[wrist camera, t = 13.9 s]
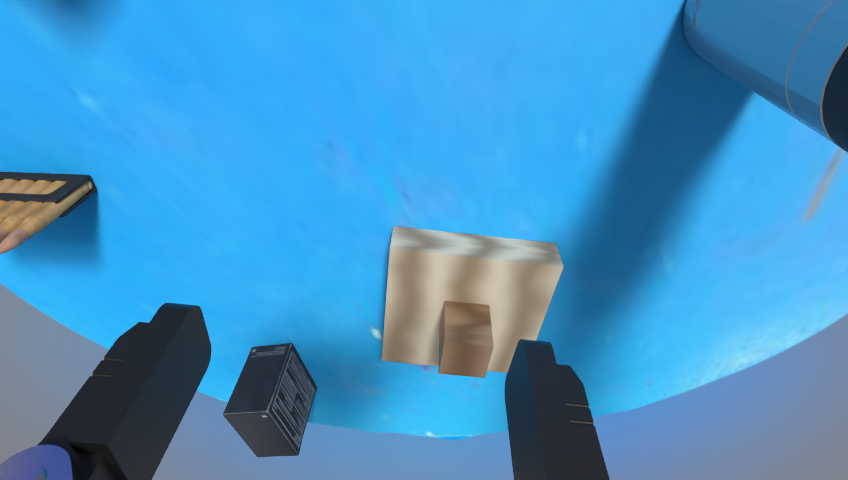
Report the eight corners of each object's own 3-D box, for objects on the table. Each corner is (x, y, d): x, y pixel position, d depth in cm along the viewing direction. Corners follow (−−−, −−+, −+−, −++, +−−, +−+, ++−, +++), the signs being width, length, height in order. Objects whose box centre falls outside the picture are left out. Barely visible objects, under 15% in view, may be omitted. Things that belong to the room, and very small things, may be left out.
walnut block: (489, 305, 51) (493, 347, 46) (481, 335, 54) (484, 377, 49) (444, 300, 51) (444, 342, 46) (439, 330, 54) (438, 373, 49)
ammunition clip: (90, 175, 48) (2, 245, 38) (98, 190, 49) (13, 262, 39) (-10, 171, 48) (-124, 240, 39) (-1, 186, 49) (-109, 257, 40)
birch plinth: (556, 243, 51) (563, 266, 48) (519, 349, 62) (523, 374, 58) (393, 226, 50) (389, 248, 47) (385, 336, 61) (381, 360, 58)
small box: (248, 346, 64) (218, 414, 55) (292, 341, 63) (268, 410, 54) (277, 391, 70) (254, 459, 61) (318, 388, 69) (300, 456, 60)
